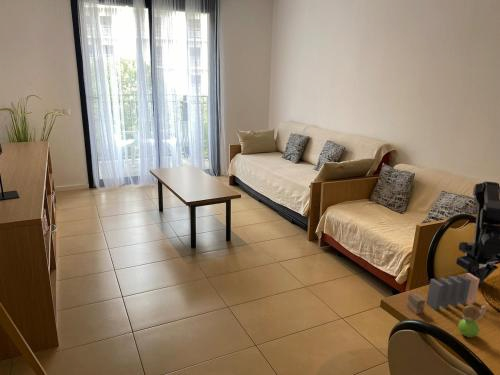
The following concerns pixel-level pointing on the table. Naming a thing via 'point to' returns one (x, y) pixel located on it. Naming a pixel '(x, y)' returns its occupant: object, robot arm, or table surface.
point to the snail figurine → (471, 320)
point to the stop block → (416, 303)
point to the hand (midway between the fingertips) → (479, 282)
